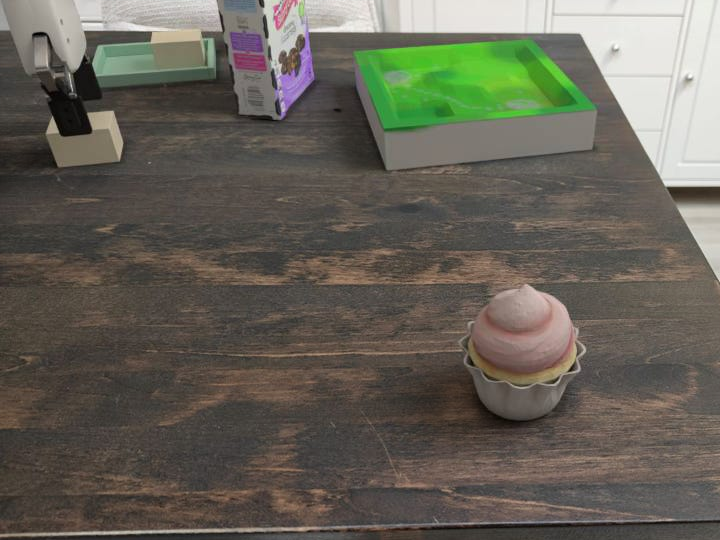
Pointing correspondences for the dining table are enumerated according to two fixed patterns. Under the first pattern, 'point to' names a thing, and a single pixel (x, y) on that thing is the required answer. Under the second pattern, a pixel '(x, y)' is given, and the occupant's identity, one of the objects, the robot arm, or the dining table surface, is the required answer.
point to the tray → (470, 103)
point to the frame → (145, 65)
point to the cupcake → (522, 353)
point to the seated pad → (178, 49)
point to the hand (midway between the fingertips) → (83, 116)
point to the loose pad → (88, 142)
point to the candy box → (267, 54)
